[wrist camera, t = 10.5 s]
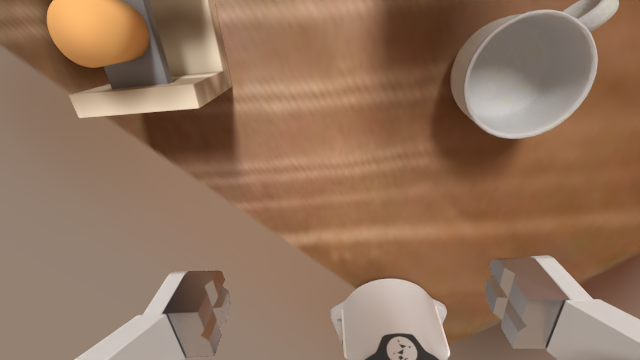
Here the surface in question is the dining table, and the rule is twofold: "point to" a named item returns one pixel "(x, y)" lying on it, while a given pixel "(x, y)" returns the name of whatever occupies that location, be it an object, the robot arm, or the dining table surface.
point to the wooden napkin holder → (165, 64)
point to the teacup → (529, 68)
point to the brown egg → (97, 31)
